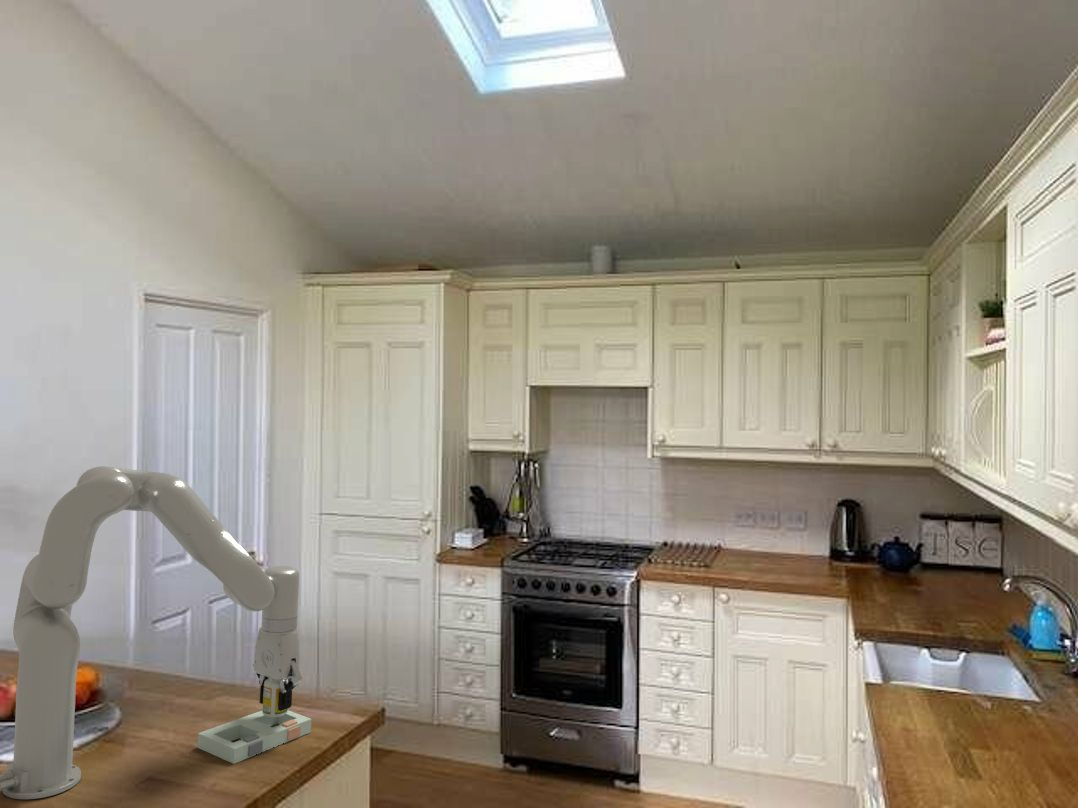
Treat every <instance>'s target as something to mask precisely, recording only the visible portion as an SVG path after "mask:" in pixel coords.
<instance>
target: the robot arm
mask: <svg viewBox="0 0 1078 808" xmlns="http://www.w3.org/2000/svg"><path fill="white" fill-rule="evenodd" d="M122 511H132V512H149V513H152V514H153V515H154V516H155V517H156V518H157V519H158V521H159V522H160V523H161V524H162V525H163V527H165V529H167V531H169V533H170V534H171V535H172V536H173V537H174V538H175V540H176V541H177V542H178V543H179V545H180V546H181V547H182V548H183V549H184V550H185V551H186V553H187V554H188V555H190V557H192V558H193V559H194V560H195V561H196V562H197V563H198V564H199V565H202V566H203V567H204V568H206V569H207V570H208V571H209V572H211V573H212V575H214V576H215V578H216V579H218V580H219V581H220V582H221V583H222V584H223V585H222V586H223V592H224V594H225V595H226V597H228V598H229V600H230V601H233V602H234V603H235V604H237V605H238V606H240V607H241V608H242V609H244V610H247V611H249V612H260V611H261V627H260V628H259V630H258V633H257V637H256V640H255V641H256V642H255V648H254V654H253V656H254V658H253V663H252V667H253V671H254V672H255V673H256V676H257V678H258V685H259V687H260V688H259V704H261V705H263V692H264V682H265V681H266V679H268V677H269V678H272V679H275V680H279V681H280V687H281V692H279V700H278V710H280V711H282V710H285V709H287V708H288V709H289V708H291V707H292V701H293V700H292V699H293V691H294V690H295V688H296V687H297V686H298V685H299V684H300V683H301V681H303V676H302V674H301V672H300V670H299V669H300V642H299V633H298V612H299V611H298V609H299V591H300V589H299V588H300V572H299V570H298V569H297V568H296V567H292V566H288V565H287V566H286V565H280V566H279V565H278V566H273V567H269V568H266V567H265V568H263V567H260V565H259V564H258V562H256V560H255V559H254V558H253V557H252V556H251V555H250V554H249V553H248V552H247V551H246V549H244V548H243V547H242V546H241V544H240V543H239V541H237V540H236V539H235V537H234V536H233V535H232V534H231V532H229V531H228V529H226V528H225V526H224V525H223V524H222V522H220V521H219V519H218V518H217V517H216V516H215V515H214V514H213V512H212V511H211V510H210V509H209V507H208V506H207V505H206V504H205V503H204V501H203V500H202V499H201V498H200V496H199V495H198V494H197V493H196V492H195V491H194V489H193V488H192V487H191V486H190V485H189V484H188V483H187V482H186V481H185V480H183V479H182V478H180V477H177V476H175V475H173V474H170V473H165V472H156V471H147V470H146V471H145V470H137V469H127V468H120V467H112V466H95V467H91V468H89V469H87V470H86V471H85V472H83V473H82V474H81V475H80V476H79V478H78V481H77V482H76V486H74V487H73V488H72V489H70V490H69V491H68V492H66V494H64V495H63V496H62V497H61V498H60V499H59V500H58V501H57V503H55V505H54V506H53V508H52V509H51V511H50V512H49V515H48V517H47V520H46V523H45V527H44V530H43V535H42V539H41V541H40V542H41V543H40V548H39V550H38V551H39V552H38V554H37V555H35V556H34V557H33V558H32V559H31V560H30V561H29V562H28V563H27V565H26V567H25V569H24V572H23V575H22V578H21V583H20V586H19V587H20V588H19V594H18V599H17V603H16V604H17V605H16V610H15V614H14V615H15V616H14V622H13V626H12V627H13V629H12V633H13V639H14V643H15V646H16V648H17V651H18V671H17V678H16V679H17V682H16V691H15V692H16V695H15V718H14V719H15V720H14V740H13V744H14V745H13V762H12V763H9V764H7V765H6V770H5V771H2V772H1V774H0V791H2V794H3V795H4V796H5V797H7V798H11V799H15V800H36V799H42V798H48V797H51V796H55V795H59V794H61V793H64V792H65V791H67V790H69V789H71V788H73V787H75V785H77V784H78V783H79V782H80V781H81V777H82V770H81V768H80V767H79V766H77V765H75V764H73V759H74V758H73V756H74V755H73V754H74V737H75V736H74V734H75V732H74V731H75V717H76V716H75V715H76V713H75V712H76V711H75V709H76V687H77V686H76V685H77V673H78V666H79V658H80V653H81V651H80V650H81V636H80V633H79V631H78V628H77V626H76V624H75V623H74V622H73V621H72V619H71V615H72V611H73V610H72V609H73V605H75V604H76V603H77V602H78V601H79V600H80V599H81V597H82V596H83V594H84V593H85V589H86V587H87V581H88V574H89V566H90V563H91V562H90V560H91V557H92V550H93V547H94V542H95V537H96V534H97V532H98V530H99V528H100V527H101V525H102V524H103V523H104V521H106V520H107V519H109V518H110V517H111V516H113V515H117V514H118V513H120V512H122ZM287 679H288V683H287V684H286V683H285V680H287Z"/></svg>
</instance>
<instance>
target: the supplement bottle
mask: <svg viewBox="0 0 1078 808" xmlns="http://www.w3.org/2000/svg"><path fill="white" fill-rule="evenodd" d="M285 683H286V684H287V683H288V679H287V680H285ZM279 692H281V687H280V681H279V680H275V679H272V678H269V677H268V679H266V681H265V682H264V692H263V704H262V708H261V709H262V710H261V711H262V713H263V715H264V716H266V717H280V716H283V715H285V714H286V713H287V711H288V710H289V708H287V709H285V710H282V711H280V710H278V700H279Z"/></svg>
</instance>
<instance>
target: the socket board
mask: <svg viewBox="0 0 1078 808" xmlns="http://www.w3.org/2000/svg"><path fill="white" fill-rule="evenodd" d="M278 724H279V725H278ZM272 726H273V727H272ZM310 733H312V718H309V717H307V716H304V715H302V714H299V713H298V712H294V711H291V710H289V709H288V711H287V713H286V714H285V715H283V716H280V717H266V716H264V715H263V713H262V710H260V711H257V712H254V713H251V714H248V715H245V716H243V717H240V718H237V719H234V720H231V721H229V722H226V723H223V724H221V725H217V726H215V727H212V728H209V729H206V730H204V731H201V732H198V733H197V745H196V746H197V747H196V748H197V749H199V750H202V751H205V752H206V753H209V754H211V755H213V756H215V757H218V758H219V759H222V760H224V761H226V762H229V763H231V764H236V763H240V762H242V761H244V760H247V759H249V758H252V757H254V756H257V755H259V754H261V752H262V753H265V752H267V751H268V750H272V749H274V748H276V747H278V745H279V746H280V745H284V744H286V743H288V742H291V741H293V740H296V739H298V738H300V737H303V736H306V735H308V734H310ZM238 739H239V740H238ZM235 740H237V741H235ZM233 741H234V742H233ZM283 743H284V744H283ZM273 747H274V748H273ZM266 750H267V751H266ZM256 754H257V755H256Z"/></svg>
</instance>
